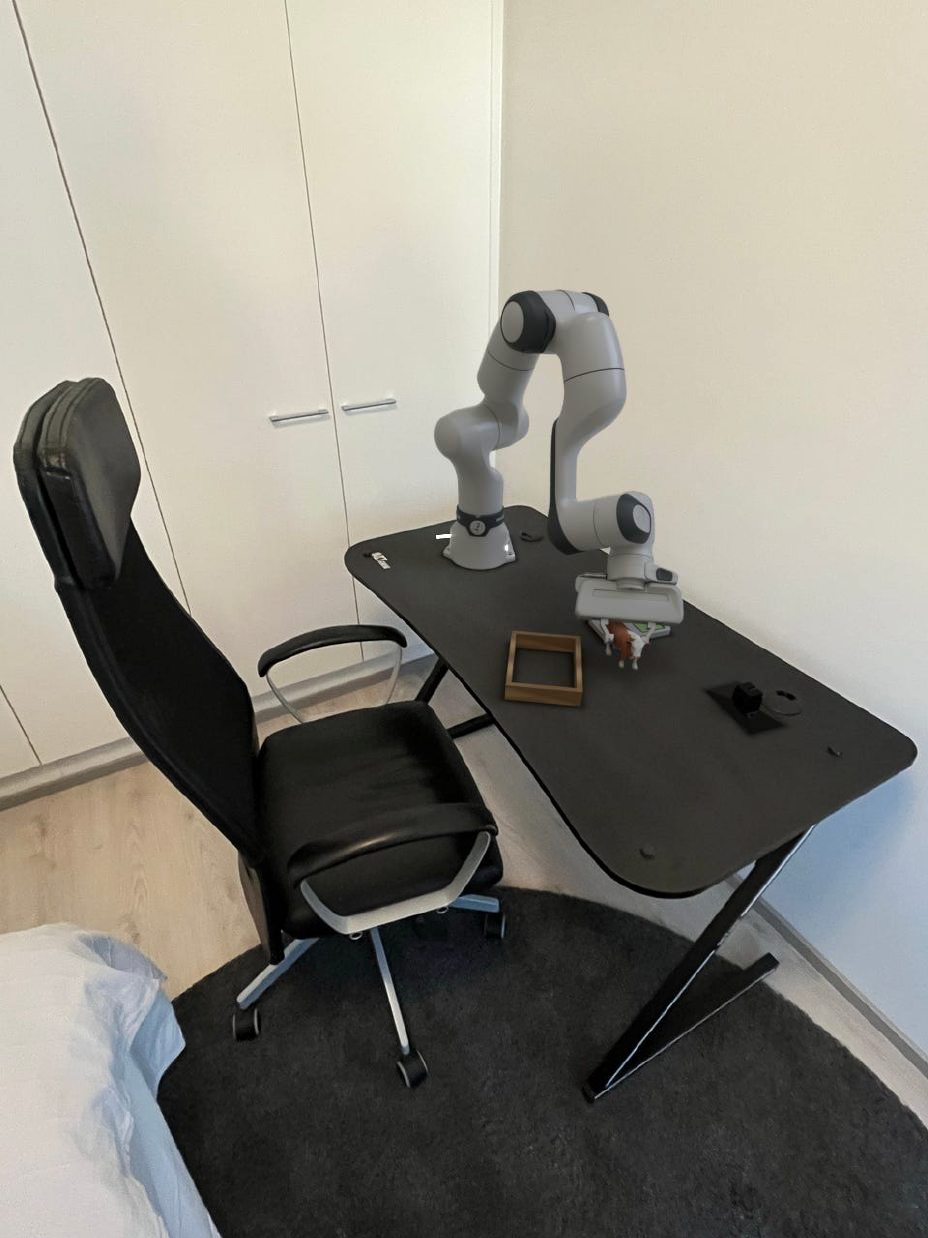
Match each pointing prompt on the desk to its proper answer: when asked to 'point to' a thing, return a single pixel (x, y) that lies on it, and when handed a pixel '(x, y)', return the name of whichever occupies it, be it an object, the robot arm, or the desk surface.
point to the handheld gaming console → (634, 629)
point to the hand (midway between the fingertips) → (626, 645)
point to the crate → (543, 691)
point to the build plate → (745, 706)
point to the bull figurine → (625, 643)
